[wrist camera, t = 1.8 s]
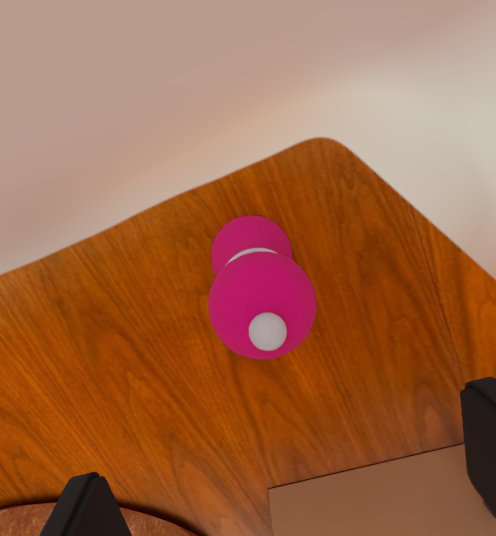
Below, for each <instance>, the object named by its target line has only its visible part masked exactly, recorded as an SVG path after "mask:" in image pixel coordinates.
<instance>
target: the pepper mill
mask: <svg viewBox="0 0 496 536" xmlns="http://www.w3.org/2000/svg"><path fill="white" fill-rule="evenodd" d="M211 261H212V267H213V270H214V272H215V275H216V278H215V280H214V282H213V285H212V287H211V290H210V295H209V306H208V307H209V315H210V320H211V323H212V325H213V328H214V330H215V332H216V333H217V335H218V337H219V338H220V339H221V340H222V342H223V343H224V344H225V345H226V346H227V347H229V348H230V349H231V350H233V351H234V352H236V353H237V354H240V355H242V356H245V357H247V358H252V359H271V358H276V357H279V356H282V355H284V354H286V353H288V352H290V351H292V350H293V349H295V348H296V347H297V346H299V345H300V344H301V343H302V342H303V340H304V339H305V338H306V337H307V335H308V334H309V332H310V330H311V328H312V325H313V322H314V319H315V315H316V298H315V293H314V289H313V286H312V284H311V281H310V279H309V278H308V276H307V275H306V273H305V272H304V271H303V270H302V268H301V267H300V266H299V265H297V264H296V263H295V262H294V261H292V249H291V245H290V242H289V239H288V237H287V236H286V234H285V232H284V231H283V230H282V228H281V227H280V226H279V225H277V224H276V223H275V222H273V221H272V220H270V219H268V218H265V217H262V216H257V215H247V216H241V217H238V218H236V219H234V220H231V221H230V222H228V223H227V224H226V225H225V226H224V227H222V228H221V230H220V231H219V232H218V234H217V235H216V237H215V239H214V242H213V245H212V249H211Z"/></svg>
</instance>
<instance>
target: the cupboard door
mask: <svg viewBox="0 0 496 536" xmlns="http://www.w3.org/2000/svg"><path fill="white" fill-rule="evenodd" d="M268 493H269V502H270V511H271V520H272V530H273V536H496V515H495V514H494V512H493V511H492V510H491V508H490V507H489V506H488V505H487V503H486V502H485V501H484V499H483V498H482V497H481V496H480V494H479V493H478V492H477V491H476V489H475V488H474V486H473V485H472V483H471V481H470V479H469V477H468V474H467V467H466V456H465V444H462V445H457V446H453V447H449V448H445V449H440V450H436V451H432V452H427V453H423V454H419V455H414V456H410V457H406V458H401V459H397V460H393V461H388V462H384V463H380V464H376V465H371V466H367V467H363V468H358V469H354V470H350V471H345V472H341V473H337V474H332V475H328V476H324V477H320V478H315V479H311V480H307V481H302V482H298V483H294V484H289V485H285V486H281V487H276V488H272V489H268Z"/></svg>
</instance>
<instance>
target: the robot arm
mask: <svg viewBox="0 0 496 536" xmlns="http://www.w3.org/2000/svg"><path fill="white" fill-rule="evenodd" d="M460 397H461V409H462V420H463V432H464V444H465V456H466V467H467V474H468V477H469V479H470V481H471V483H472V485H473V486H474V488H475V489H476V491H477V492H478V493H479V494H480V496H481V497H482V498H483V499H484V501H485V502H486V503H487V505H488V506H489V507H490V508H491V510H492V511H493V512H494V514H495V515H496V379H495V378H493V377H487V378H482V379H478V380H474V381H470V382H467V383H466V385H465V389H464V390H461V392H460ZM39 536H132V534H131V532H130V530H129V528H128V525H127V523H126V521H125V519H124V517H123V515H122V512H121V510H120V508H119V506H118V504H117V502H116V500H115V497H114V495H113V493H112V491H111V489H110V487H109V484H108V482H107V480H106V479H105V477H103V476H102V477H100V476H99V474H98V473H97V472H92V473H88V474H83V475H79V476H75V477H72V478H71V479H70V480H69V481H68V483H67V485H66V486H65V488H64V490H63V492H62V494H61V496H60V497H59V499H58V501H57V503H56V505H55V507H54V509H53V510H52V512H51V514H50V516H49V518H48V520H47V522H46V523H45V525H44V527H43V529H42V531H41V533H40V535H39Z"/></svg>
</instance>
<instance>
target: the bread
mask: <svg viewBox="0 0 496 536" xmlns="http://www.w3.org/2000/svg"><path fill="white" fill-rule="evenodd" d="M55 505H56V503H43V504H30V505H20V506H13V507H8V508H3V509H0V536H39V535H40V533H41V531H42V529H43V527H44V525H45V523H46V522H47V520H48V518H49V516H50V514H51V512H52V510H53V509H54V507H55ZM119 508H120V510H121V512H122V515H123V517H124V519H125V521H126V523H127V525H128V528H129V530H130V532H131V534H132V536H197V535H196V534H194V533H192V532H190V531H188V530H186V529H184V528H182V527H180V526H178V525H176V524H173V523H170V522H168V521H165V520H162V519H159V518H156V517H154V516H151V515H148V514H144V513H140V512H137V511H133V510H129V509H126V508H121V507H119Z"/></svg>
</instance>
